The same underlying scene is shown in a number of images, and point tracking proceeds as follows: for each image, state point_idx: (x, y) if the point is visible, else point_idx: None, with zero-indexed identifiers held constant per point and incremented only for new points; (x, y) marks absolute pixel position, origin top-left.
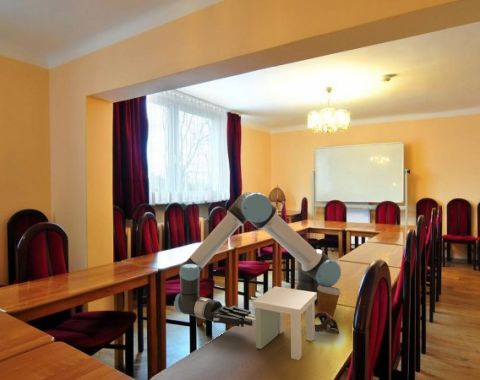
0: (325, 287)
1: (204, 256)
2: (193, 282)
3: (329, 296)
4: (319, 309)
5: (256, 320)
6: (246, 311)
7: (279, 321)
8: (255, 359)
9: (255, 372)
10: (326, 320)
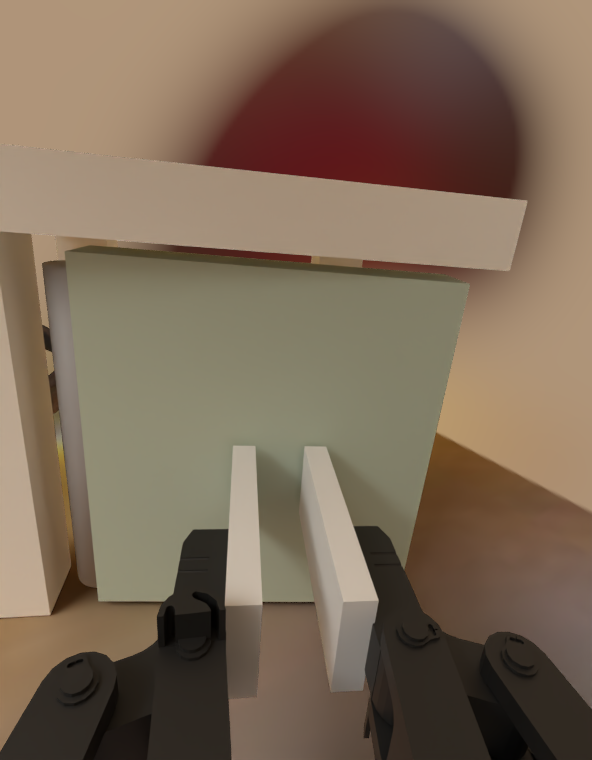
0: None
1: None
2: None
3: None
4: None
5: (436, 400)
6: (82, 749)
7: (57, 482)
8: (489, 550)
9: (556, 507)
10: (49, 332)
